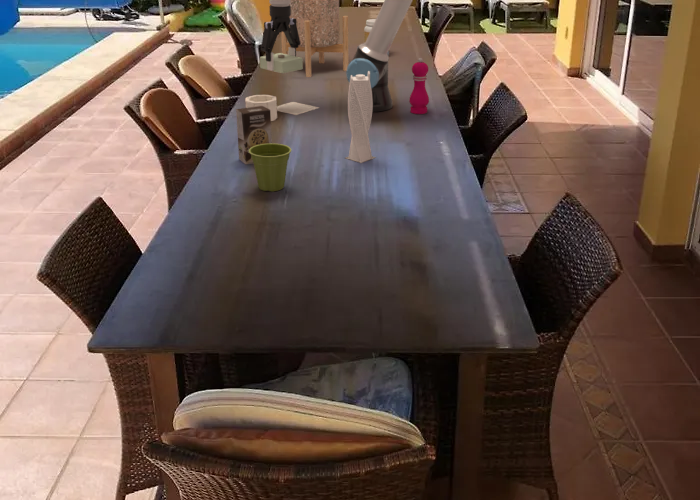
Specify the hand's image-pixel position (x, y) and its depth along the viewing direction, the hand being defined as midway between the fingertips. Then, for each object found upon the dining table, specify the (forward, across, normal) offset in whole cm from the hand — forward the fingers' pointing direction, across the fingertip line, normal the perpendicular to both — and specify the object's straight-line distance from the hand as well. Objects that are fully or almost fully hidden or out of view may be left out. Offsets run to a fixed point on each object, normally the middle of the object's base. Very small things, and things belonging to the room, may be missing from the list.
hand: (281, 67), depth 288 cm
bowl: (+16, +12, +2) cm, 20 cm away
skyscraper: (+16, +21, +58) cm, 64 cm away
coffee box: (+16, +43, +34) cm, 58 cm away
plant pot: (+16, +56, +56) cm, 81 cm away
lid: (0, 0, 0) cm, 0 cm away
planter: (+17, -58, -40) cm, 73 cm away
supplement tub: (+16, -99, -38) cm, 107 cm away
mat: (+16, -5, +1) cm, 17 cm away
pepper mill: (+15, -33, +39) cm, 53 cm away
